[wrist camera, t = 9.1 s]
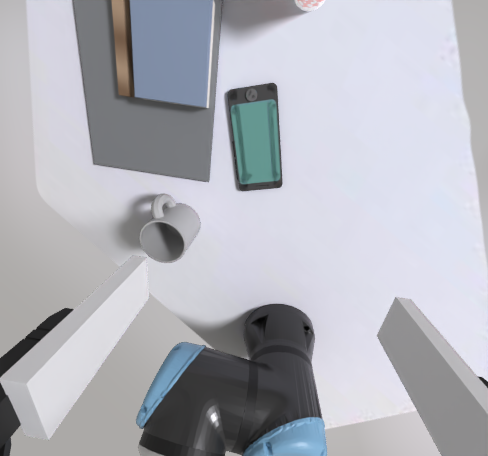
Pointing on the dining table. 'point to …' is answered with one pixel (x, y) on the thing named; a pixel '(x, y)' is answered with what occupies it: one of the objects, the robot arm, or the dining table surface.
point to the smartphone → (256, 136)
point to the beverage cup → (309, 4)
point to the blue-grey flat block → (173, 50)
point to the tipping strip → (123, 47)
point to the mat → (140, 107)
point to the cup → (169, 230)
